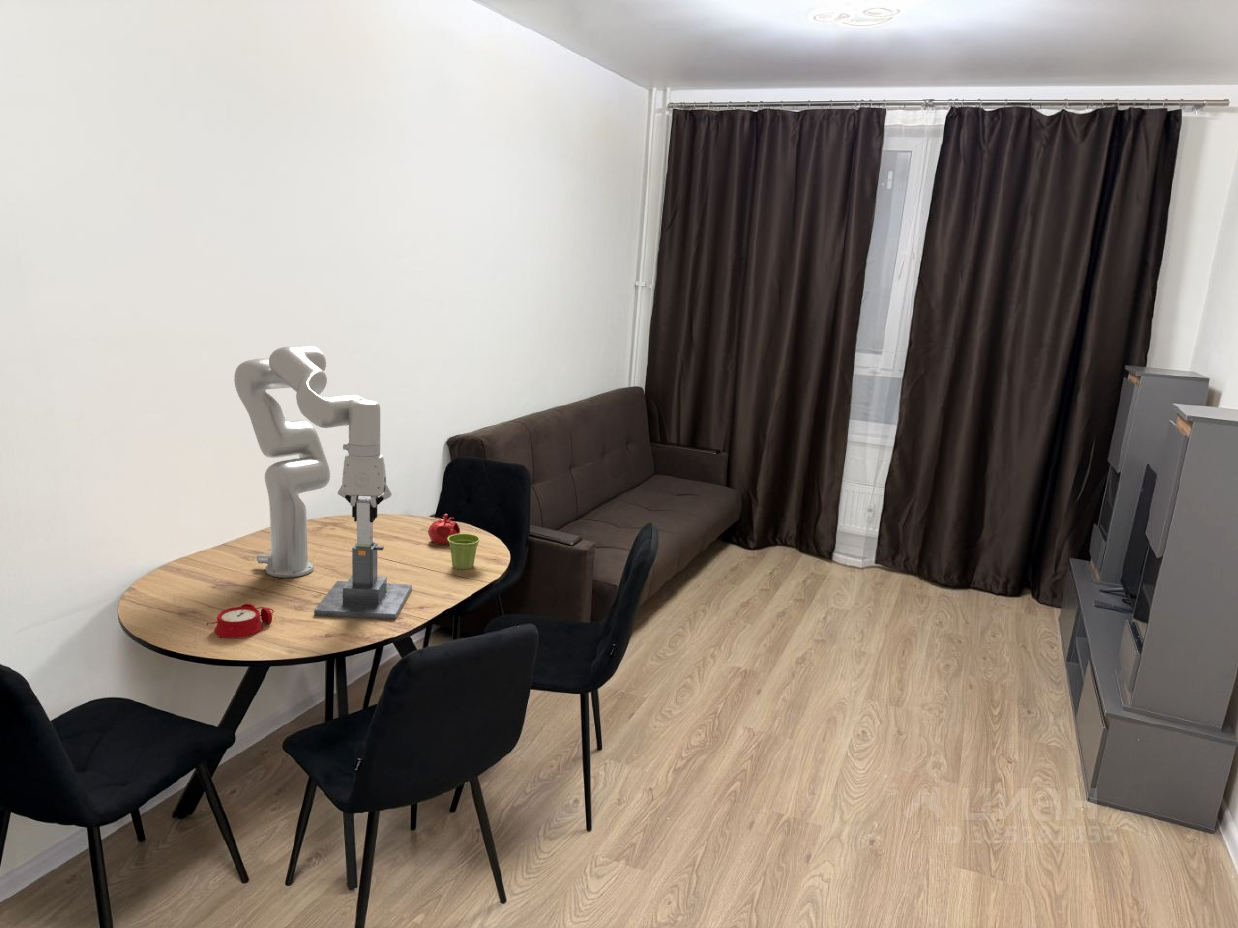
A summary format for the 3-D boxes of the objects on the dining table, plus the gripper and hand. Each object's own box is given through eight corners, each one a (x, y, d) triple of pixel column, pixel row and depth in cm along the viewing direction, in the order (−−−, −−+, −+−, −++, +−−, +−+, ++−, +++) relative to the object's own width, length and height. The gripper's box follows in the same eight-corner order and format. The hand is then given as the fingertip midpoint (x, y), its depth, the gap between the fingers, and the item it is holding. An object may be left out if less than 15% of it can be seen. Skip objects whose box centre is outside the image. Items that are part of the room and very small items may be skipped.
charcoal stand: (314, 615, 213) (313, 556, 209) (337, 586, 232) (336, 531, 229) (395, 619, 214) (395, 560, 210) (411, 589, 233) (412, 535, 230)
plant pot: (485, 565, 256) (486, 537, 254) (467, 574, 247) (467, 545, 245) (459, 558, 259) (459, 531, 257) (440, 567, 251) (440, 539, 249)
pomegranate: (422, 541, 274) (422, 513, 271) (450, 535, 280) (449, 508, 278) (438, 549, 266) (438, 520, 264) (466, 543, 273) (466, 515, 271)
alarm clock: (199, 620, 198) (248, 586, 211) (206, 642, 201) (254, 608, 213) (233, 630, 195) (281, 595, 207) (239, 652, 197) (286, 617, 210)
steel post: (356, 563, 219) (356, 500, 215) (360, 558, 222) (359, 496, 218) (370, 563, 219) (369, 501, 215) (373, 559, 222) (373, 497, 219)
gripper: (326, 451, 210) (327, 523, 214) (394, 455, 211) (394, 526, 215) (335, 445, 217) (336, 514, 221) (401, 448, 218) (400, 517, 222)
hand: (364, 519), depth 218 cm, fingers closed on steel post, 3 cm apart
